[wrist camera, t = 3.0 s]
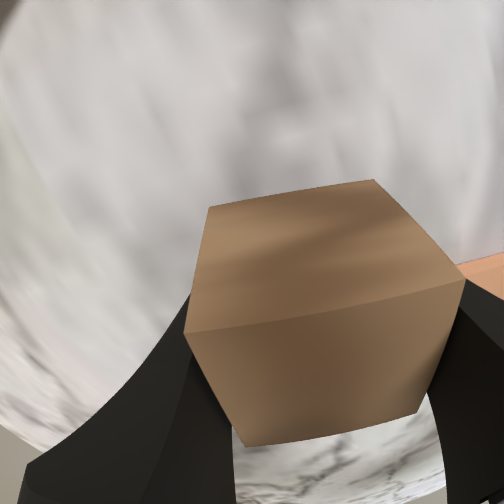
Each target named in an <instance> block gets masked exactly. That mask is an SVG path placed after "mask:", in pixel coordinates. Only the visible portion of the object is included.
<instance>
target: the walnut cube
mask: <svg viewBox="0 0 504 504" xmlns="http://www.w3.org/2000/svg"><path fill="white" fill-rule="evenodd" d="M465 281H466V278H465V277H464V275H463V274H462V273H461V272H460V270H459V269H458V268H457V267H456V266H455V264H454V263H453V262H452V261H451V260H450V259H449V257H448V256H447V255H446V254H445V253H444V252H443V250H442V249H441V248H440V247H439V246H438V245H437V244H436V243H435V241H434V240H433V239H432V238H431V237H430V236H429V235H428V234H427V233H426V232H425V230H424V229H423V228H422V227H421V226H420V225H419V224H418V223H417V222H416V221H415V220H414V219H413V218H412V217H411V216H410V215H409V214H408V213H407V212H406V211H405V210H404V209H403V207H402V206H401V205H400V204H399V203H398V202H397V201H396V200H395V199H393V198H392V197H391V196H390V195H389V194H388V193H387V192H386V191H385V190H384V189H383V188H382V187H381V186H380V185H379V184H378V183H377V182H376V181H375V180H374V179H371V180H364V181H357V182H350V183H343V184H336V185H330V186H323V187H317V188H311V189H305V190H299V191H293V192H287V193H281V194H275V195H270V196H264V197H259V198H253V199H248V200H242V201H237V202H232V203H227V204H222V205H217V206H212V207H209V209H208V214H207V218H206V223H205V227H204V232H203V237H202V241H201V246H200V251H199V255H198V260H197V265H196V270H195V275H194V280H193V285H192V290H191V296H190V301H189V306H188V311H187V317H186V322H185V328H184V336H185V338H186V340H187V342H188V344H189V346H190V348H191V350H192V352H193V354H194V356H195V358H196V360H197V362H198V364H199V366H200V367H201V369H202V371H203V373H204V375H205V377H206V379H207V381H208V383H209V385H210V386H211V388H212V390H213V392H214V394H215V396H216V398H217V399H218V401H219V403H220V405H221V407H222V408H223V410H224V412H225V414H226V415H227V417H228V419H229V421H230V422H231V424H232V426H233V428H234V429H235V431H236V433H237V434H238V436H239V438H240V439H241V441H242V443H243V444H244V446H245V447H255V446H265V445H274V444H282V443H289V442H296V441H303V440H309V439H315V438H320V437H326V436H331V435H336V434H340V433H345V432H350V431H354V430H358V429H362V428H366V427H370V426H374V425H378V424H381V423H385V422H389V421H392V420H395V419H399V418H402V417H405V416H409V415H412V414H415V413H417V411H418V409H419V407H420V405H421V403H422V401H423V398H424V396H425V394H426V392H427V390H428V387H429V385H430V383H431V381H432V378H433V376H434V373H435V371H436V369H437V366H438V364H439V361H440V359H441V356H442V353H443V351H444V348H445V345H446V343H447V340H448V337H449V334H450V331H451V328H452V325H453V322H454V319H455V316H456V313H457V309H458V306H459V303H460V299H461V296H462V292H463V289H464V285H465Z"/></svg>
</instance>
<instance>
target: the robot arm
mask: <svg viewBox="0 0 504 504" xmlns="http://www.w3.org/2000/svg"><path fill="white" fill-rule="evenodd" d="M190 296H191V293H190V295H189V296H188V298H187V299H186V301H185V303H184V304H183V306H182V307H181V309H180V311H179V312H178V314H177V315H176V317H175V318H174V320H173V321H172V323H171V324H170V326H169V327H168V329H167V330H166V332H165V333H164V335H163V336H162V338H161V339H160V340H159V342H158V343H157V345H156V346H155V347H154V349H153V350H152V351H151V353H150V354H149V355H148V357H147V358H146V360H145V361H144V362H143V363H142V365H141V366H140V367H139V368H138V370H137V371H136V372H135V373H134V374H133V375H132V376H131V378H130V379H129V380H128V381H127V382H126V383H125V384H124V386H123V387H122V388H121V389H120V390H119V391H118V392H117V393H116V394H115V395H114V396H113V397H112V398H111V399H110V400H109V401H108V402H107V403H106V404H105V405H104V406H103V407H102V408H101V409H100V410H99V411H98V412H97V413H95V414H94V415H93V416H92V417H91V418H90V419H89V420H88V421H86V422H85V423H84V424H83V425H82V426H81V427H79V428H78V429H77V430H76V431H74V432H73V433H72V434H71V435H69V436H68V437H67V438H66V439H64V440H63V441H61V442H60V443H59V444H57V445H56V446H54V447H53V448H51V449H50V450H48V451H47V452H45V453H44V454H42V455H41V456H39V457H38V458H36V459H35V460H33V461H32V462H30V463H28V464H27V467H26V470H25V474H24V478H23V481H22V486H21V489H20V494H19V498H18V502H17V504H236V494H235V483H234V469H233V453H232V424H231V422H230V421H229V419H228V417H227V415H226V414H225V412H224V410H223V408H222V407H221V405H220V403H219V401H218V399H217V398H216V396H215V394H214V392H213V390H212V388H211V386H210V385H209V383H208V381H207V379H206V377H205V375H204V373H203V371H202V369H201V367H200V366H199V364H198V362H197V360H196V358H195V356H194V354H193V352H192V350H191V348H190V346H189V344H188V342H187V340H186V338H185V336H184V328H185V322H186V317H187V311H188V306H189V301H190ZM427 394H428V397H429V401H430V404H431V407H432V411H433V414H434V418H435V422H436V426H437V430H438V435H439V439H440V444H441V449H442V455H443V461H444V468H445V476H446V487H447V503H448V504H481V503H483V502H485V501H487V500H488V501H489V504H504V300H502V299H501V298H499V297H497V296H495V295H493V294H492V293H490V292H488V291H487V290H485V289H483V288H481V287H480V286H478V285H476V284H475V283H473V282H471V281H470V280H468V279H467V278H466V281H465V285H464V289H463V292H462V296H461V299H460V303H459V306H458V309H457V313H456V316H455V319H454V322H453V325H452V328H451V331H450V334H449V337H448V340H447V343H446V345H445V348H444V351H443V353H442V356H441V359H440V361H439V364H438V366H437V369H436V371H435V373H434V376H433V378H432V381H431V383H430V385H429V387H428V390H427Z"/></svg>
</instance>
